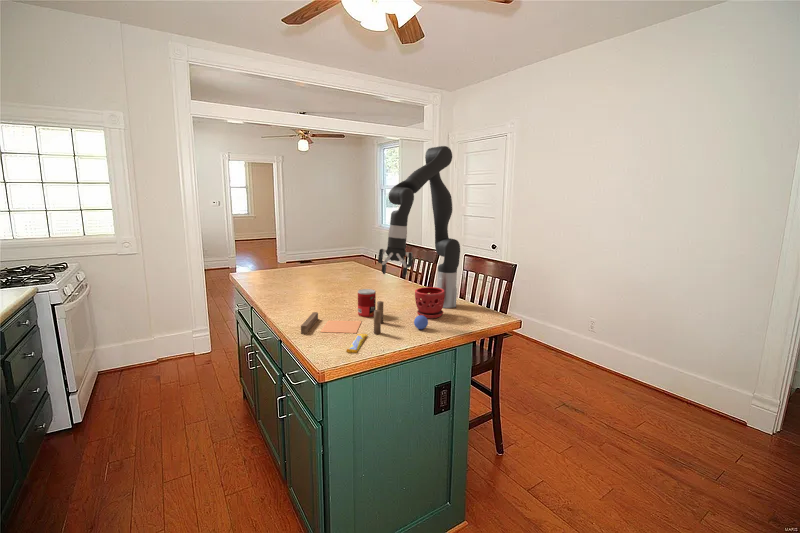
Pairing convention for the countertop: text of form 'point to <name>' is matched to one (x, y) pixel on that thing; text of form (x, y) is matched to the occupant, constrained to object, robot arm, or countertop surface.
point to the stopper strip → (309, 323)
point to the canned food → (366, 302)
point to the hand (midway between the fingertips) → (393, 275)
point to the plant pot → (430, 301)
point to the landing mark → (341, 326)
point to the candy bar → (357, 343)
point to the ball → (421, 322)
